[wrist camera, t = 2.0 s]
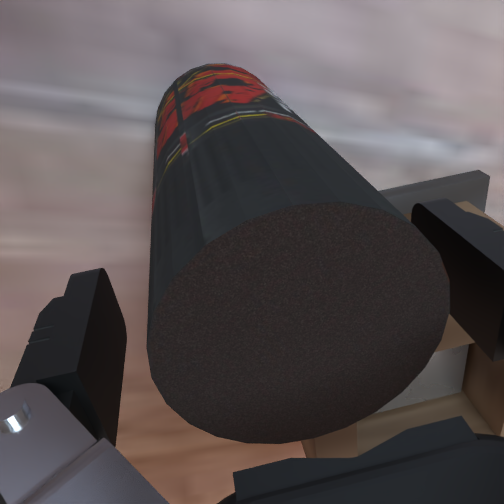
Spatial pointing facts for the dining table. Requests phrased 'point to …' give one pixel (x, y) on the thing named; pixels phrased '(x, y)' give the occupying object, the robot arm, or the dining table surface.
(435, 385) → the press platform
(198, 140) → the deodorant
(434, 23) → the dining table surface
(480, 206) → the sleeve holder
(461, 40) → the dining table surface
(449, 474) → the robot arm
